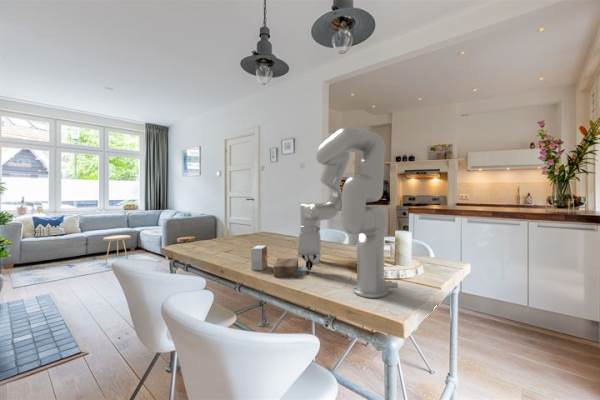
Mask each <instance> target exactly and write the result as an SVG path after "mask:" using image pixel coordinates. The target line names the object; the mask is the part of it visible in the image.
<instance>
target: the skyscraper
mask: <svg viewBox="0 0 600 400" xmlns="http://www.w3.org/2000/svg"><path fill="white" fill-rule="evenodd" d="M320 226H321V220H319V221H317V227H320ZM320 228H321V227H320ZM317 232H318V233H319V239H320V251H321V246H322V245H321V242H322V241H321V231H320V230H318V231H317ZM307 256H308V259H309V260H310V258H311V255H307ZM320 260H321V256H320V257H317V258H315V259H314V260H313V261H312V265H313V264H318V265H320V263H321V261H320Z"/></svg>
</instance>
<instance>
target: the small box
mask: <svg viewBox="0 0 600 400" xmlns="http://www.w3.org/2000/svg"><path fill="white" fill-rule="evenodd" d="M267 246H268V245H258V244H257V245H255V246H254V247H252V248H250V249H251V250H250V254H251V255H250V259H251V260H250V261H251V262H250V263H251V264H250V265H251V271H263V270H265V269H266V268H268V247H267Z"/></svg>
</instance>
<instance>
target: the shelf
mask: <svg viewBox="0 0 600 400" xmlns="http://www.w3.org/2000/svg"><path fill="white" fill-rule="evenodd" d="M297 267H299V257H298V258H277V259H276V262H275V263H274V266H273V278H282V277H283V278H284V277H285V278H296V277H298V276H302V272H297Z"/></svg>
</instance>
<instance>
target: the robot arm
mask: <svg viewBox="0 0 600 400" xmlns="http://www.w3.org/2000/svg"><path fill="white" fill-rule="evenodd" d="M351 153H359V154H363V155H362V156H361V159H360V161H359V165H358V167H359V168H358V169H359V172H358V174H354V175H352V176H350V177H348V178H347V179H346V180H345V182H344V184H343V186H342V188H341V182H342V180H343V176H344V174H345V170H346V168H347V166H348V163H349V160H350V157H351ZM385 155H386V145H385V141H384V139H383V137H382V136H380V135H379V134H378V133H376V132H373V131H370V130H367V129H362V128H356V127H352V126H351V127H350V126H344V127H342V128H341V127H340V128H339V129H338V130H337V131H336V132H334V133H333V134H331V135H330V136H329V137H328V138H327V139H324V141H323V142H322V143H321V144H320V145H319V147H318V149H317V151H316V155H315V156H316V161H317V162H318V164H320V165H323V169H322V173H321V176H320V182H321V183H322V184H323V185H324V186H326V187H328V189H329V192H330V193H329V197H328V200H327V202H317V203H315V202H314V203H312V202H307V203H306V202H305V203H301V204H300V208H299V209H300V211H299V212H300V232H299V233H298V238H297V239H298V240H297V257H298V258H302V259H303V260H304V261H305V267H306V269H307V271H312V269H313V264H312V261H313V260H314V259H315V258H317V257H320V258H321V256H322V255H321V250H320V239H321V238H320V239H319V233H318V232H317V231H318V230H319V231H320V230H321V227H317V221H319V220H320V221H325V220H332V219H334V218H336V217H337V215H338V212H339V211H340V209H341V223H342V227H343V229H344V230H345V231H346V232H347V233H348V234H351V235H355V236H356V235H358V236H357V239H356V240H357V241H356V279H357V280H356V284H354V286H352V292H353V293H354V294H356V295H358V296H360V297H363V298H369V299H370V298H371V299H376V298H377V299H378V298H385V297H387V296H388V295H389V289H390V288H392V289H398V288H399V284H398V281H397V282H393V281H392V280H388V281H387V280H386V279H385V267H384V266H385V263H384V261H385V255H384V254H385V233H386V228H387V217H386V213H385V212H384V210H383V209H382V208H380V207H379V206H377V205H376V206H375V205H367V204H366V203H374V202H377V201H379V200H380V199H382V197H383V195H384V179H385V178H384V176H385V171H384V170H385V167H384V166H385ZM307 255H311V258H309V259H310V260H309V259H308V256H307Z"/></svg>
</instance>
